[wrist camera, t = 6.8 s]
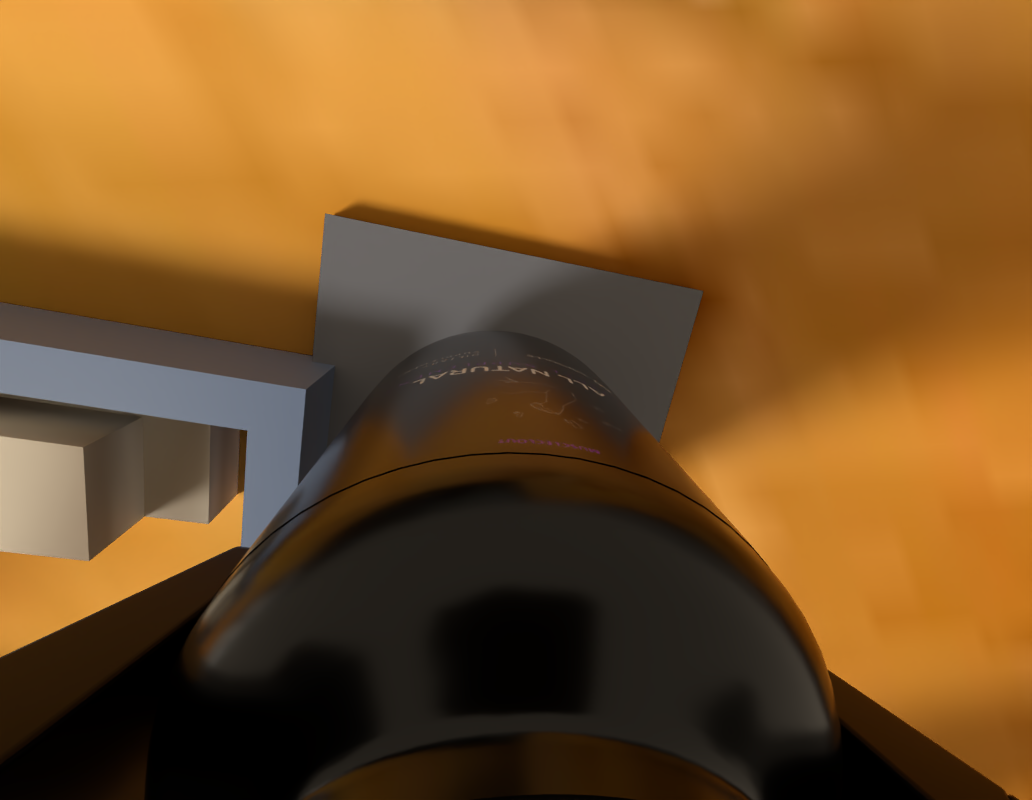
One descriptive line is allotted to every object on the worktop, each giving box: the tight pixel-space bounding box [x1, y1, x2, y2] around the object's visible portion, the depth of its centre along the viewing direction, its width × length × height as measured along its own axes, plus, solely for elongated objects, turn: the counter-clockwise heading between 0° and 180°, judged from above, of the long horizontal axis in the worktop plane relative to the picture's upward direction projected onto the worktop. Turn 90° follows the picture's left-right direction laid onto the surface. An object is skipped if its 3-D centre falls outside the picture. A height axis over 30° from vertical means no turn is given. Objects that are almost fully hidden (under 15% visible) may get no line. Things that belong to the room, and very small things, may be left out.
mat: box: [312, 214, 703, 448], centre depth 15 cm, size 10×10×1 cm
